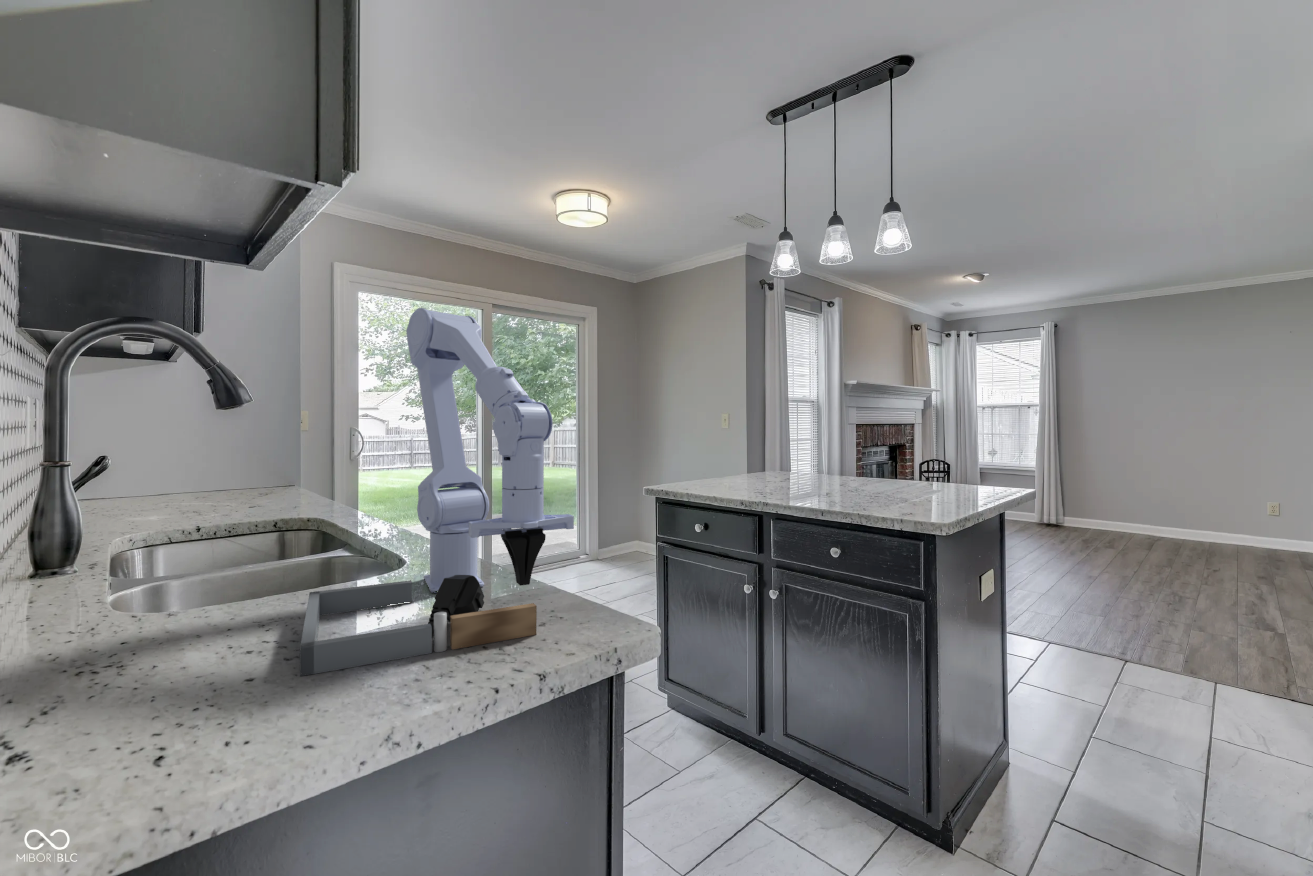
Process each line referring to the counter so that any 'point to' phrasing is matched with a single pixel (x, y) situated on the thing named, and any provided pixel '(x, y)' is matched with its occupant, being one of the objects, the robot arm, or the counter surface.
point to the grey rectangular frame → (366, 645)
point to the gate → (492, 625)
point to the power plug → (457, 597)
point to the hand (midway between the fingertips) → (522, 583)
